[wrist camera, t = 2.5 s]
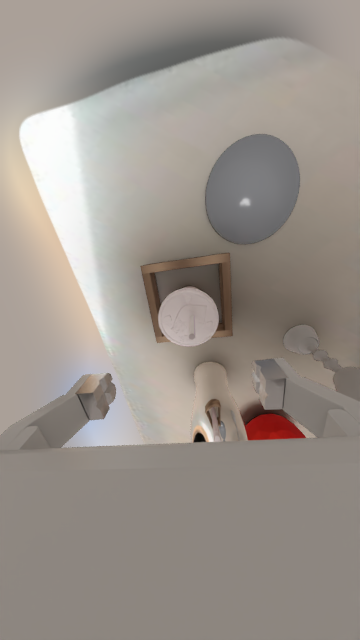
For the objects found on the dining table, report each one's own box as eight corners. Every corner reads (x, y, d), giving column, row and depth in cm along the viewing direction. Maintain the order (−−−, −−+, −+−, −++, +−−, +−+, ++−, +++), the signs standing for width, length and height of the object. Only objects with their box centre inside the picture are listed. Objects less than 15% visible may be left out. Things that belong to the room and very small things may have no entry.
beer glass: (235, 367, 30) (272, 463, 16) (218, 394, 33) (236, 496, 19) (200, 353, 30) (207, 440, 16) (185, 381, 32) (179, 478, 18)
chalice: (272, 356, 29) (381, 495, 12) (279, 319, 27) (427, 431, 10) (317, 356, 28) (495, 502, 12) (329, 319, 26) (574, 436, 9)
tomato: (275, 446, 37) (307, 521, 27) (226, 434, 37) (239, 504, 27) (304, 409, 33) (356, 480, 22) (249, 394, 32) (275, 460, 22)
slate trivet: (302, 127, 18) (305, 123, 18) (292, 237, 22) (294, 236, 22) (201, 149, 20) (201, 146, 19) (208, 249, 24) (209, 249, 23)
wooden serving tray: (225, 253, 24) (229, 253, 21) (228, 327, 28) (232, 335, 25) (146, 264, 25) (140, 266, 22) (160, 334, 29) (156, 342, 26)
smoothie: (218, 300, 26) (244, 346, 13) (187, 324, 28) (182, 385, 15) (192, 267, 25) (191, 282, 12) (160, 295, 27) (130, 335, 14)
